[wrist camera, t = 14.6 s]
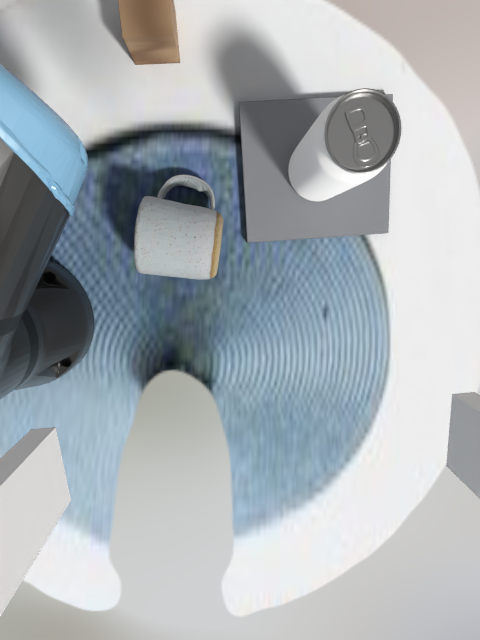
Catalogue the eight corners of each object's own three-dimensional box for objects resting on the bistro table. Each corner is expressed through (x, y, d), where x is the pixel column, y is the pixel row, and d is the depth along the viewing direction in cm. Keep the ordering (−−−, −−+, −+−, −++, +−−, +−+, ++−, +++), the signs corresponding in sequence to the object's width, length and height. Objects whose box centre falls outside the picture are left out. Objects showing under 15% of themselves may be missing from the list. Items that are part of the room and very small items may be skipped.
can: (298, 211, 36) (334, 193, 24) (278, 151, 35) (307, 102, 23) (353, 189, 36) (416, 160, 24) (336, 127, 34) (394, 66, 23)
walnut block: (135, 65, 33) (122, 37, 29) (129, 13, 32) (115, -24, 28) (180, 63, 33) (173, 35, 29) (175, 11, 32) (168, -26, 28)
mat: (247, 242, 37) (247, 242, 36) (238, 106, 34) (239, 102, 33) (384, 233, 38) (388, 233, 37) (388, 98, 35) (392, 94, 34)
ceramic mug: (217, 278, 38) (216, 285, 31) (146, 270, 38) (127, 274, 30) (227, 183, 36) (229, 165, 29) (152, 173, 36) (134, 151, 28)
